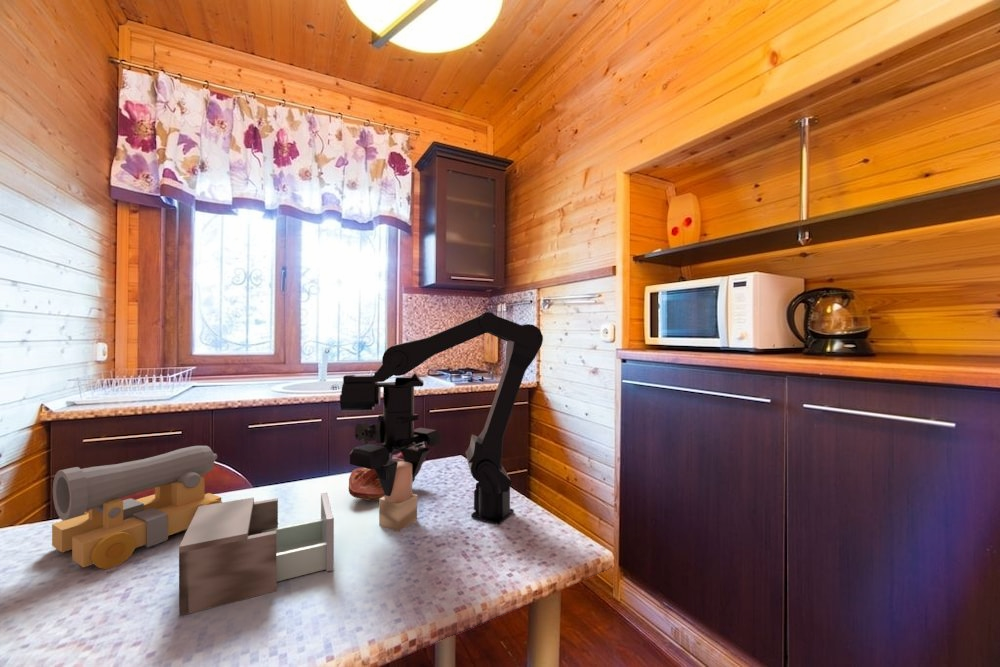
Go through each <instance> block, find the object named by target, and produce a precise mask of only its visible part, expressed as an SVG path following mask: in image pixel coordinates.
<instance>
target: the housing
mask: <svg viewBox="0 0 1000 667" xmlns="http://www.w3.org/2000/svg"><path fill="white" fill-rule="evenodd" d="M278 498H279V497H275V498H270V499H264V500H259V501H255V497H248V498H243V499H237V500H236V499H235V500H229V501H225V502H222V503H217V504H210V505H204V506H199V507H198V509H197V511H196V513H195V515H194V517H193V519H192V521H191V523H190V525H189V527H188V529H186V531H185V533H184V536H183V538H182V540H181V541H180V543H179V546H178V616H179V617H181V616H185V615H189V614H192V613H197V612H200V611H204V610H207V609H208V610H209V609H212V608H216V607H220V606H224V605H227V604H230V603H234V602H235V603H236V602H239V601H243V600H247V599H250V598H253V597H258V596H262V595H265V594H270V593H273V592H277V582H276V530H275V531H270V532H265V533H261V532H262V531H263V530H268V529H273V528H278V527H279V522H278V520H279V517H278V516H279V511H278V510H279V501H278V500H279V499H278Z"/></svg>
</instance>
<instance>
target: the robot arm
mask: <svg viewBox="0 0 1000 667" xmlns="http://www.w3.org/2000/svg"><path fill="white" fill-rule="evenodd" d="M485 334H489V335H491V336H493V337H496V338H498V339H500V340H501V341H506V347H505V363H504V364H505V365H504V367H503V369H502V370H503V371H502V374H501V376H500V379H499V383H498V385H497V388H496V391H495V394H494V398H493V401H492V403H491V406H490V409H489V412H488V415H487V418H486V420H485V421H486V422H485V424H484V428H483V429H482V431H481V432H480V433H479V435H478V436H476V435H475V434H471V436H470V443H469V446H468V448H467V450H465V455H466V459H467V460H466V461H467V465H468V467H469V471H470V474H471V476H472V478H473V479H474V480H475V481H476V483H475V489H474V491H473V510H474V511H473V512H471V514H470V516H471V518H473V519H477V520H480V521H483V522H487V523H491V524H494V525H500V524H502V523H503V522H504V521H505V520H506V519H507V518H509V517H510V516H511V515H513V514H514V513H515V510H514V509H513V508H511V485H512V480H511V478H510V476H509V475H508V473H507V471H506V470H505V468H504V466H503V465H502V459H503V449H504V448H503V446H504V445H503V444H504V443H503V442H504V436H505V433H506V429H507V427H508V424H509V421H510V417H511V416H512V411H513V409H514V406H515V402H516V400H517V397H518V394H519V391H520V389H521V385H522V382H523V379H524V376H525V373H526V370H528V368H529V366H531V364H532V362H533V361H534V360H535V359H536V356H537V354H538V352H539V350H540V349H541V348H542V345H543V341H544V335H543V334H542V332H541V330H540V329H539V327H538V326H536V325H534V324H531V323H527V324H526V323H525V324H524V323H523V324H520V323H517V322H514V321H512V320H509V319H506V318H503V317H500V316H498V315H496V314H495V313H492V312H489V311H487V312H482V313H480V314H478V316H476V317H473V318H471V319H469V320H466V321H464V322H462V323H459V324H456V325H454V326H451V327H449V328H446V329H444V330H442V331H440V332H437V333H435V334H433V335H430V336H428V337H424V338H420V339H415V340H410V341H406V342H401V343H397V344H393V345H392V346H390V347H387V349H386V350H385V351H384V353H383V355H382V360H381V362H382V365H381V366H380V367H379V368H378V369H376V370H375V371H374V375H371V374H370V375H356V374H345V375H343V378H342V380H343V381H342V385H341V393H340V394H339V406H340V410H341V412H364V411H365V412H367V411H374V410H375V407H376V406H380V404H381V392H383V400H382V401H383V405H382V407H383V409H382V410H383V411H382V414H379V415H378V417H377V421H376V422H377V423H374V424H369V423H368V421H364V422H359V423H356V424H355V425H354V436H355V437H354V438H355V440H356V441H357V442H359V441H363V445H359V446H356V447H354V448H352V450H350V452H349V464H350V465H352V466H355V467H359V468H368V469H374V470H375V471H376V473H377V475H378V478H379V480H380V483H381V486H382V488H383V491H384V494H385V495H386V496H390V495H391V492H392V489H393V484H394V479H395V474H396V469H397V463H398V462H395V461H392V456H393V455H394V453H397V452H402V454H403V456H404V462H410V463H411V464H412V484H413V483H414V481H415V480H416V477H417V475H418V474H417V472H418V470H419V468H420V466H421V464H422V462H423V460H424V459H426V457H427V455H428V453H430V451H431V448H432V447H435V446H439V445H440V444H441V435H440V432H439V431H438V430H437V429H431V428H426V427H418V428H415V421H418V420H419V414H418V413H415V387H419V388H420V387H423V386H424V380H423V379H421V378H420V376H418V374H417V373H416V372H414V373H413V374H412V376H406V377H403V375H406V374H408V373H409V372H411V371H412V370H414V369H416V368H417V367H418V366H420V365H422V364H423V363H425V362H426V361H427V360H429V359H430V358H432V357H433V356H435V355H438V354H439V353H442V352H443V351H447V350H449V349H452V348H453V347H454V348H455V346H459V345H460V344H463V343H466V342H468V341H470V340H473V339H475V338H477V337H480V336H482V335H485ZM393 376H395V380H394V381H388V382H385V381H387V380H389V379H390V378H392V377H393ZM396 376H397V377H396ZM381 388H383V391H381ZM372 441H375V443H376V444H383V445H376V444H372V443H370V442H372ZM425 442H426V443H427V445H428V446H429V447H430V448H429V447H426V444H425ZM423 463H424V462H423ZM422 465H423V464H422ZM421 467H422V466H421ZM416 474H417V475H416ZM414 479H415V480H414Z"/></svg>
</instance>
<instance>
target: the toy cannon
mask: <svg viewBox="0 0 1000 667" xmlns="http://www.w3.org/2000/svg"><path fill="white" fill-rule="evenodd" d="M217 459H218V454H217V453H214V452H213V450H212V449H211V447H210V446H208V445H193V446H188V447H183V448H178V449H175V450H173V451H172V450H171V451H169V452H165V453H162V454H158V455H155V456H151V457H147V458H144V459H143V458H142V459H137V460H131V461H125V462H121V463H117V464H116V463H115V464H108V465H107V464H105V465H99V466H98V465H97V466H90V467H84V468H80V467H79V466H75V467H70V468H65V469H60V470H57V472H56V473H55V475H54V479H53V483H52V498H53V500H52V501H53V504H54V509H55V511H56V514H57V516H58V517H59V518H60V520H61V521H59V522H55V523H52V524H51V546H52V547H53V548H54V549H56V550H58V551H59V552H60V553H64V552H67V551H70V550H71V552H72V555H71V556H72V559H71V560H72V561H73V562H75V563H77V565H80V567H82V568H87V567H88V566H91V565H94V566H96V567H97V568H99V569H104V570H108V569H111V568H113V567H116V566H118V565H122V564H123V563H125V562H126V561H127V560H128V559H129V558H130V557H131V556H132V554H133V553H134V551H135V549H137V548H139V547H142V546H143V547H145V548H150V547H152V546H155V545H158V544H159V543H162V542H165V541H167V540H169V539H168V538H169V536H171V535H174V534H177V533H180V532H182V531H185V530H187V529H188V527H189V525H190V523H191V521H192V519H193V517H194V515H195V513H196V511H197V509H198V507H199V506H204V505H210V504H217V503H223V502H222V497H221V496H218V495H216V494H214V493H210V492H208V493H205V477H204V475H206V474H208V473H209V472H211V471H212V470H213V468H214V467H215V461H216V460H217ZM150 489H151V490H152V489H154V494H151V495H147V496H144V497H140V498H137V499H134V498H127V499H124V500H123V499H122V498H125V497H128V496H131V495H135V494H138V493H141V492H145V491H147V490H150Z"/></svg>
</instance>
